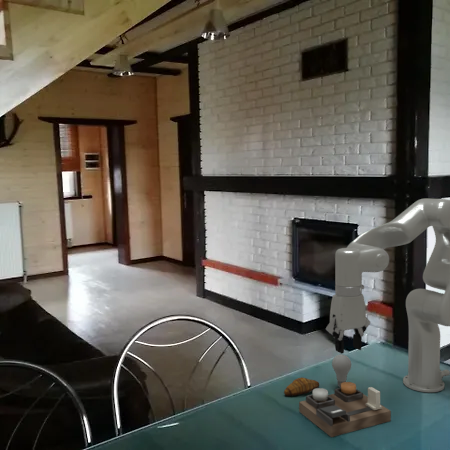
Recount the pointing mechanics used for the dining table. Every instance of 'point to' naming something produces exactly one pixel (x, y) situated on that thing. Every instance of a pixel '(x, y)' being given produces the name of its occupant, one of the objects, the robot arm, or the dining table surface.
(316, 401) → the panel
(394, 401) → the dining table surface
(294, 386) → the croissant
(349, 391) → the orange button
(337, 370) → the lightbulb
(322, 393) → the grey button
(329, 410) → the rocker
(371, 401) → the cream stepped block
